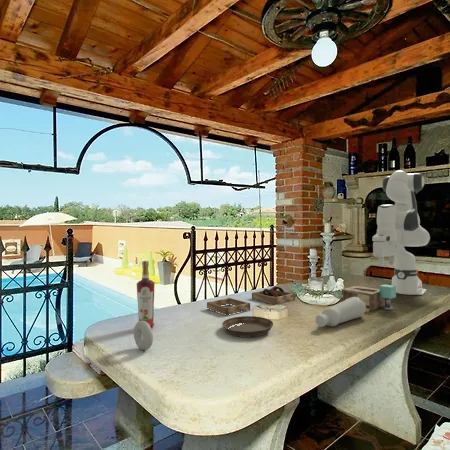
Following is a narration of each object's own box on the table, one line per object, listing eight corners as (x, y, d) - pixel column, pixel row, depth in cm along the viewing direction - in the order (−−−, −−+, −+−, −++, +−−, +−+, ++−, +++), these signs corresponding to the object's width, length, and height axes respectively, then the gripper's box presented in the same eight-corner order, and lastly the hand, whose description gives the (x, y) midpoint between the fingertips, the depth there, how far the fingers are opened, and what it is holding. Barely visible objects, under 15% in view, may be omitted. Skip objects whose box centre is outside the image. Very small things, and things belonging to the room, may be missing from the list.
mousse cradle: (229, 304, 173) (229, 297, 173) (250, 310, 160) (250, 303, 160) (207, 309, 163) (206, 302, 163) (227, 316, 151) (227, 308, 151)
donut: (132, 347, 114) (131, 318, 114) (140, 344, 116) (140, 316, 116) (146, 355, 107) (145, 325, 107) (155, 352, 109) (154, 322, 109)
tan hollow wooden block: (355, 300, 178) (355, 285, 178) (385, 305, 165) (385, 290, 165) (341, 304, 169) (341, 289, 169) (371, 310, 157) (371, 294, 157)
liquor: (136, 331, 130) (135, 262, 130) (137, 326, 138) (136, 260, 138) (155, 330, 132) (154, 262, 132) (155, 324, 139) (154, 260, 139)
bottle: (345, 306, 153) (307, 320, 134) (355, 291, 149) (317, 305, 130) (361, 320, 148) (323, 337, 129) (371, 305, 143) (334, 321, 124)
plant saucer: (212, 329, 132) (212, 321, 132) (249, 320, 145) (249, 312, 145) (245, 344, 116) (244, 335, 116) (284, 332, 128) (284, 323, 128)
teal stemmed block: (384, 307, 162) (384, 284, 162) (395, 309, 158) (395, 285, 158) (379, 309, 159) (379, 285, 159) (391, 311, 155) (390, 287, 155)
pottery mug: (280, 297, 189) (284, 286, 185) (281, 308, 181) (286, 297, 177) (260, 292, 189) (264, 281, 185) (261, 303, 180) (265, 292, 176)
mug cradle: (271, 294, 195) (270, 288, 195) (294, 299, 181) (294, 293, 181) (251, 298, 184) (251, 292, 184) (275, 304, 170) (275, 298, 170)
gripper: (389, 236, 168) (390, 263, 168) (370, 237, 155) (370, 266, 155) (402, 236, 163) (402, 264, 163) (383, 237, 150) (383, 267, 150)
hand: (386, 265), depth 159 cm, fingers open, 8 cm apart
